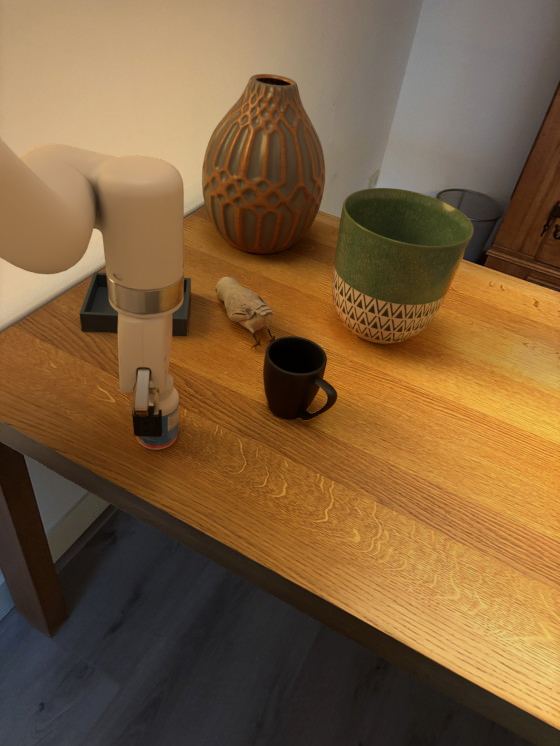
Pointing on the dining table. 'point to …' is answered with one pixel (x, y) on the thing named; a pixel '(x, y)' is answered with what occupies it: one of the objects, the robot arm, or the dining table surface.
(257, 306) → the decorative bird
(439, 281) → the planter
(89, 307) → the tray
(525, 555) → the dining table surface
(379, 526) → the dining table surface
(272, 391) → the mug
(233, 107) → the vase
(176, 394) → the pill bottle
